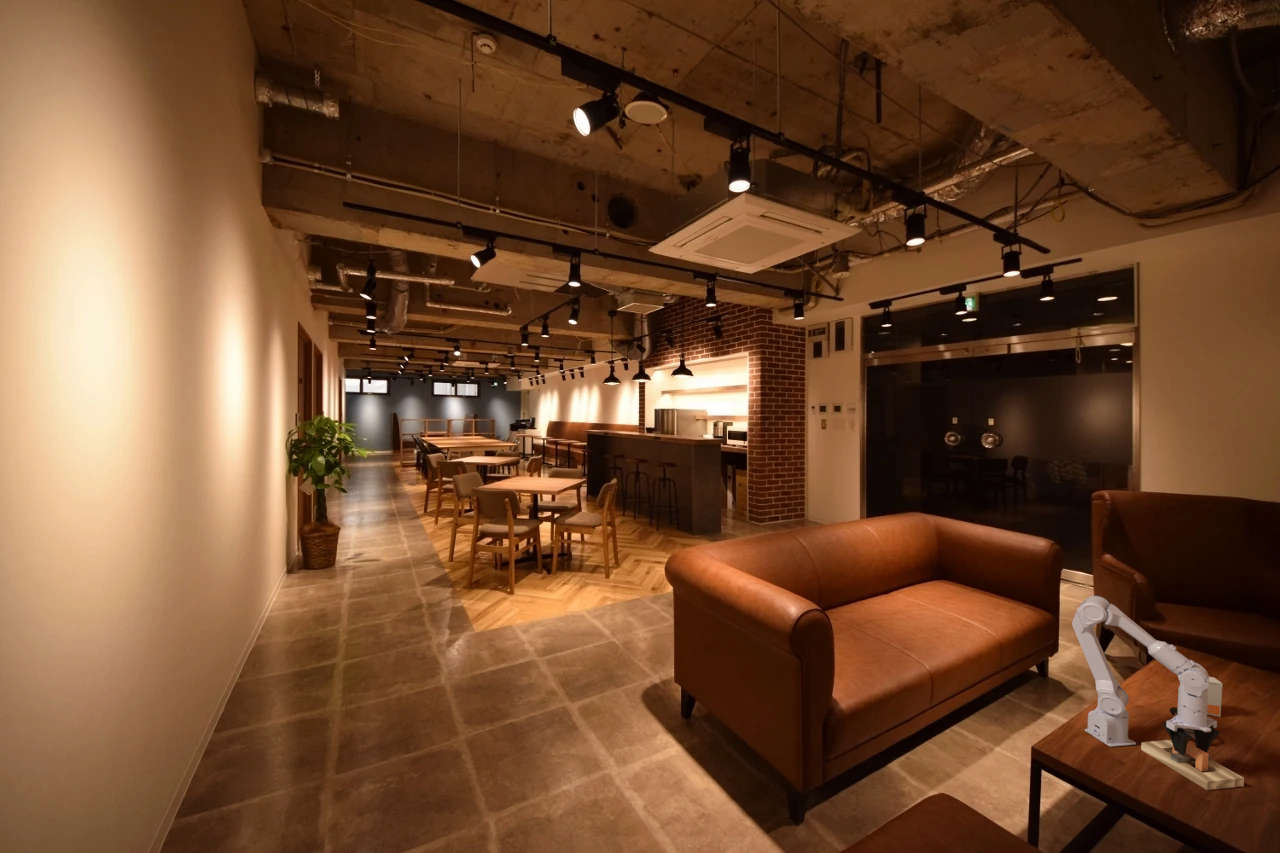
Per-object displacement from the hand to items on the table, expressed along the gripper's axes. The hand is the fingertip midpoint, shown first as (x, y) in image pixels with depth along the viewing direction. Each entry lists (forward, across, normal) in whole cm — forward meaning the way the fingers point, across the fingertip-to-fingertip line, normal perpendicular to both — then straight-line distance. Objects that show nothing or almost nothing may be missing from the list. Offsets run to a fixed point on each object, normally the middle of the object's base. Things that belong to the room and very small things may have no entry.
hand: (1190, 751), depth 143 cm
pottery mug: (+5, +18, +13) cm, 23 cm away
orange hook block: (+3, 0, 0) cm, 3 cm away
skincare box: (+5, +38, +22) cm, 44 cm away
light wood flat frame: (+5, 0, 0) cm, 5 cm away
